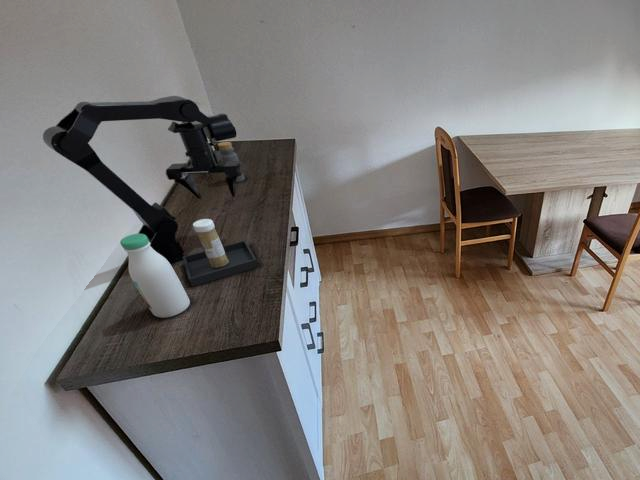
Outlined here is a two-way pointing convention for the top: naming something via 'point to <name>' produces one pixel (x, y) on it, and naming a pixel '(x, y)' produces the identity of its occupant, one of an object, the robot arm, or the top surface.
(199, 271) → the tray
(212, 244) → the sprinkles bottle
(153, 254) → the milk bottle
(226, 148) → the bottle
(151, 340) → the top surface
